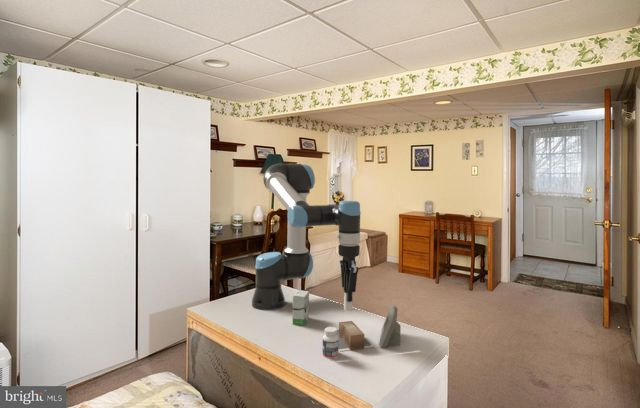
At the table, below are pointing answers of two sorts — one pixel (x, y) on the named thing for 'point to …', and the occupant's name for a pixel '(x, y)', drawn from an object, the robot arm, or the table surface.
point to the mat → (343, 347)
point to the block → (351, 335)
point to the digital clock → (390, 329)
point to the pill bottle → (330, 343)
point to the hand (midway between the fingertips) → (348, 309)
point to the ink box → (300, 307)
